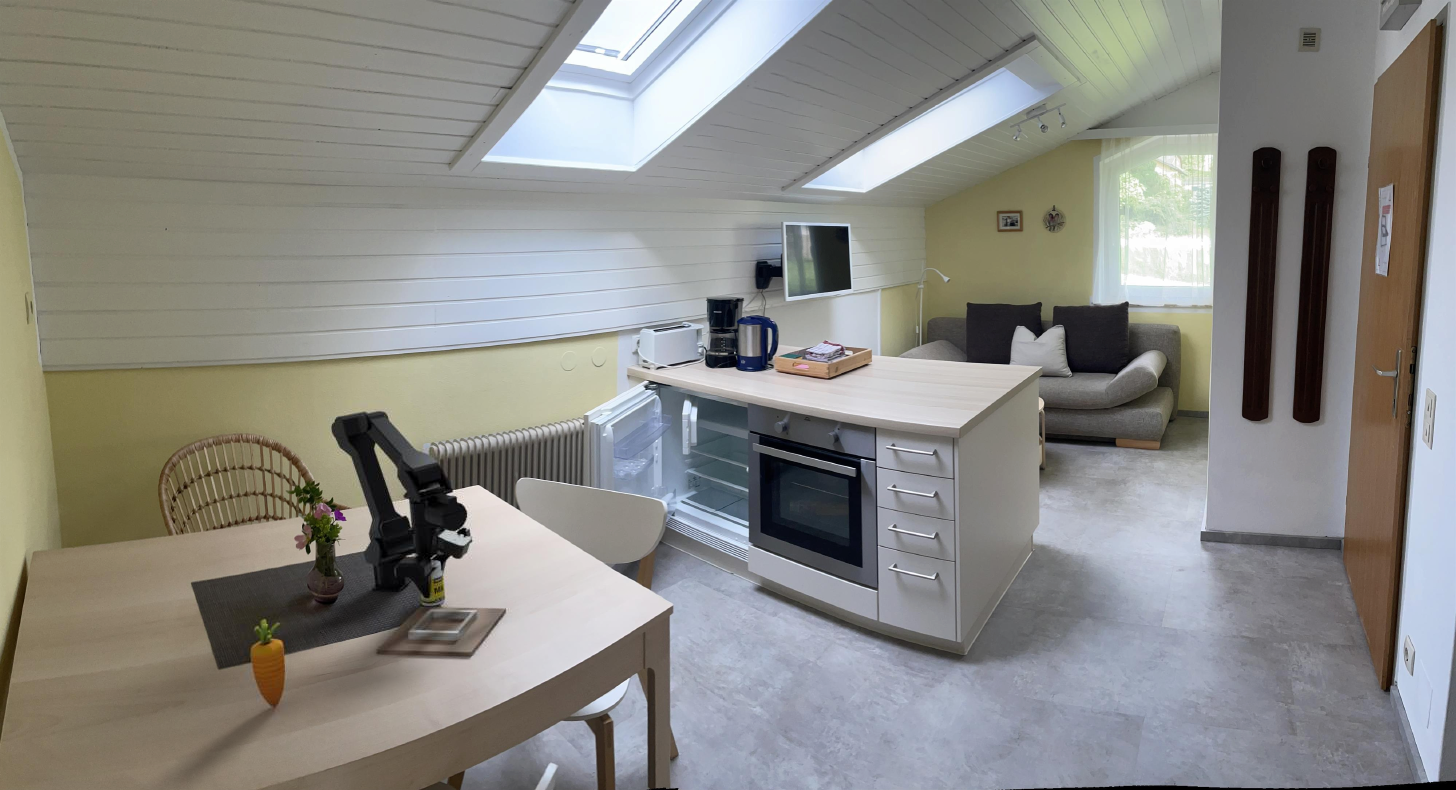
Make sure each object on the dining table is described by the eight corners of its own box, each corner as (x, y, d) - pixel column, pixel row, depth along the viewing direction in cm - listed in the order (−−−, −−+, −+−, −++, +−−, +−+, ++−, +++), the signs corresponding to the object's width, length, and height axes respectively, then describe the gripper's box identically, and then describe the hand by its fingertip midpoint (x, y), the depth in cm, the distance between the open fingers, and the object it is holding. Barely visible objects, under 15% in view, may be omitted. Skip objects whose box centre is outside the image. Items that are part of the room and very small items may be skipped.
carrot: (265, 699, 140) (254, 615, 137) (296, 697, 140) (285, 613, 137) (251, 716, 135) (239, 629, 132) (284, 714, 135) (272, 627, 132)
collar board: (376, 653, 154) (375, 642, 154) (420, 610, 172) (419, 599, 171) (471, 656, 153) (470, 644, 152) (506, 612, 170) (505, 601, 170)
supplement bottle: (437, 607, 173) (434, 568, 171) (417, 605, 174) (413, 567, 172) (449, 597, 178) (446, 559, 176) (429, 596, 178) (425, 558, 177)
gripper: (444, 538, 162) (451, 613, 165) (481, 507, 181) (486, 575, 184) (389, 537, 163) (397, 612, 166) (431, 506, 182) (437, 574, 185)
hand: (432, 592), depth 175 cm, fingers closed on supplement bottle, 5 cm apart
